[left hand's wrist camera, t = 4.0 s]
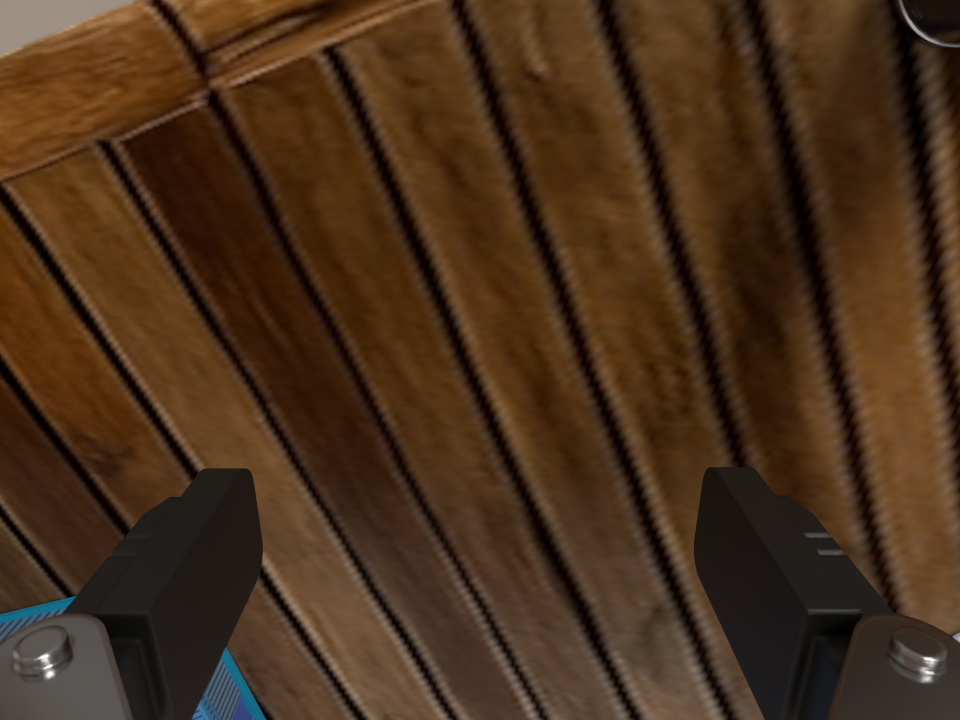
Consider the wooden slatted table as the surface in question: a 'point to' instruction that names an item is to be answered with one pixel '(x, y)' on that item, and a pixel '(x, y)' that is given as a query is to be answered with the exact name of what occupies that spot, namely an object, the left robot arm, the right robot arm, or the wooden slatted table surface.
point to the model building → (226, 701)
